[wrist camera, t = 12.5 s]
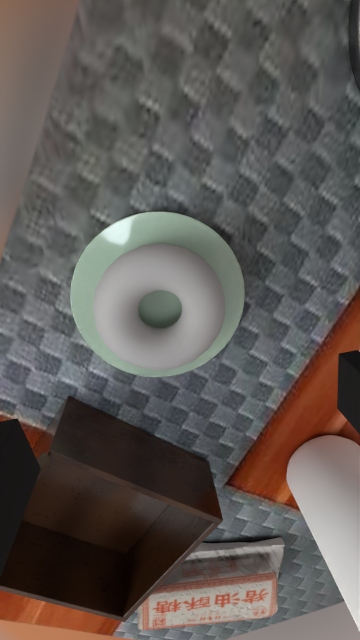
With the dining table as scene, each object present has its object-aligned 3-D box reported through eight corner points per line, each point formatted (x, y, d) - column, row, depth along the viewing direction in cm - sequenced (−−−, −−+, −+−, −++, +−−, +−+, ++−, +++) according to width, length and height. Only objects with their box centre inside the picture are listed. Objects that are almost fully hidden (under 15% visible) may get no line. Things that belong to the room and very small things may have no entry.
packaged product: (135, 646, 37) (134, 593, 34) (135, 597, 42) (135, 546, 38) (285, 629, 39) (299, 577, 36) (270, 584, 44) (282, 534, 40)
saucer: (262, 229, 26) (265, 231, 25) (220, 380, 31) (222, 385, 30) (79, 193, 23) (77, 193, 22) (66, 363, 28) (64, 368, 27)
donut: (240, 267, 26) (119, 218, 23) (254, 278, 23) (116, 223, 20) (190, 370, 29) (79, 337, 26) (197, 393, 26) (72, 357, 23)
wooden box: (208, 461, 34) (223, 520, 28) (127, 553, 38) (124, 622, 32) (68, 395, 29) (49, 449, 23) (-8, 508, 33) (-42, 580, 27)
